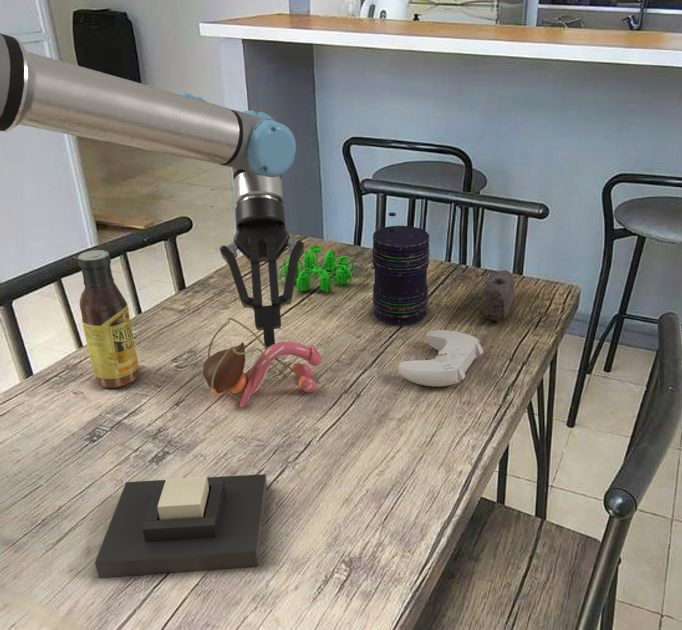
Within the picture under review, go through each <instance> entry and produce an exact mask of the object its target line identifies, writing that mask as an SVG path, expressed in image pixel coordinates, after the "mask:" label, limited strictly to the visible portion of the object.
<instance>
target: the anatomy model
mask: <svg viewBox="0 0 682 630" xmlns="http://www.w3.org/2000/svg"><path fill="white" fill-rule="evenodd" d="M231 321H233V322H235V323H236V324H238V325H240V326H241V327H242V328H244V329H246V330H247V331H248V332H250V334H252V336H254V337H255V338H256V339H257V340H258V342H259V343H260V344H261V345H262V346H263V348H264V350H262V349H261V348H259V347H255V348H254V349H250V350H247V351H246V348H245V347H246V346H245V343H244V342H243V341H241V343H240V344H237V346H234V345H231V346H230V347H229V348H226V349H222V350H219V351H216V352H215V353H213V354H212V355H211V348H212V345H213V343H214V340H215V339H216V337H217V336H218V334H219V333H220V332H221V331H222V330H223V329H224V328H225V327H227V326H228V325H229V323H230V322H231ZM265 348H266V349H265ZM256 351H259V352H260V355H259V356H258V357H257V358H256V360H255V362H253V365H252V366H251V368H250V369H249V370H248V371H247V372H246V373H245V372H244V369H245V364H246V354H249V353H253V352H256ZM284 355H285V356H294V357H298V358H301V359H303V360H305V362H307V363H308V364H309V365H311V366H312V367H318V366H320V365H321V363H322V355H321V354H320V351H319V350H318V349H317V347H316V346H315V345H314V344H310V345H305V344H303V343H300V342H296V341H289V340H288V341H279V342H275V344H273V345H271V346H269V347H268V348H267V347H266V346H265V344H264V341H262V339H261V338H260V337H259V336H258V335H257V334H256V333H255V331H253V330H252V329H250V328H249V327H248V326H246V325H245V324H243V323H242V322H241V321H238V320H237V319H235V318H233V317H228V318H227V321H226V322H225V323H224V324H223V325H221V327H219V329H218V330H217V331H216V332H215V333H214V335H213V336H212V338H211V339H210V343H209V345H208V350H207V358H206V360H205V361H204V363H202V364H203V366H202V368H203V369H202V377H203V378H204V379H203V380H204V381H205V384H206V385H207V386H208V388H209V389H211V390H210V392H211V393H212V394H213V396H221V395H222V394H225V393H226V392H227V391H228V390H230V392H231V393H233V394H237V393H240V392H243V390H244V392H243V394H242V397H241V399H240V402H239V407H240V408H242V407H246V406H247V404H248V402H249V400H250V397H251V396H252V394H255V393H256V392H257V391H258V390H259V389H260V388H261V386H262V385H263V382H264V380H265V378H266V375H267V372H268V370H269V368H270V366H272V367H273V368H274V369H275V370H276V371H277V372H279V373H277V374H275V375H273V378H275V379H276V380H278V383H279V384H282V383H283V382H284V381H285V380H286V379H288V380H289V381H290V382H292V383H293V384H295V385H297V388H298V389H301V390H303V391H304V392H306V393H308V394H309V393H314V392H315V391H316V390H317V388H318V387H317V382H316V381H315V380H314V379H313V378H312V375H313V370H312V368H311V367H310V366H309V365H308V364H306V363H300V362H296V363H293V365H292V367H291V366H289V365H288V364H286V363H284V362H283V361H281V360H280V359H279V358H278V357H280V356H284ZM274 360H275V361H276V362H278V363H279V364H281V365H282V366H284V368H283V369H282V370H281V369H280V368H279V367H277V365H275V363H274V362H273V361H274ZM287 370H288V372H287ZM285 372H287V373H285ZM293 373H294V374H295V375H296V376H298V380H297V381H295V380H294V379H292V377H289V376H290V375H291V374H293ZM279 377H281V378H280V379H279Z"/></svg>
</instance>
